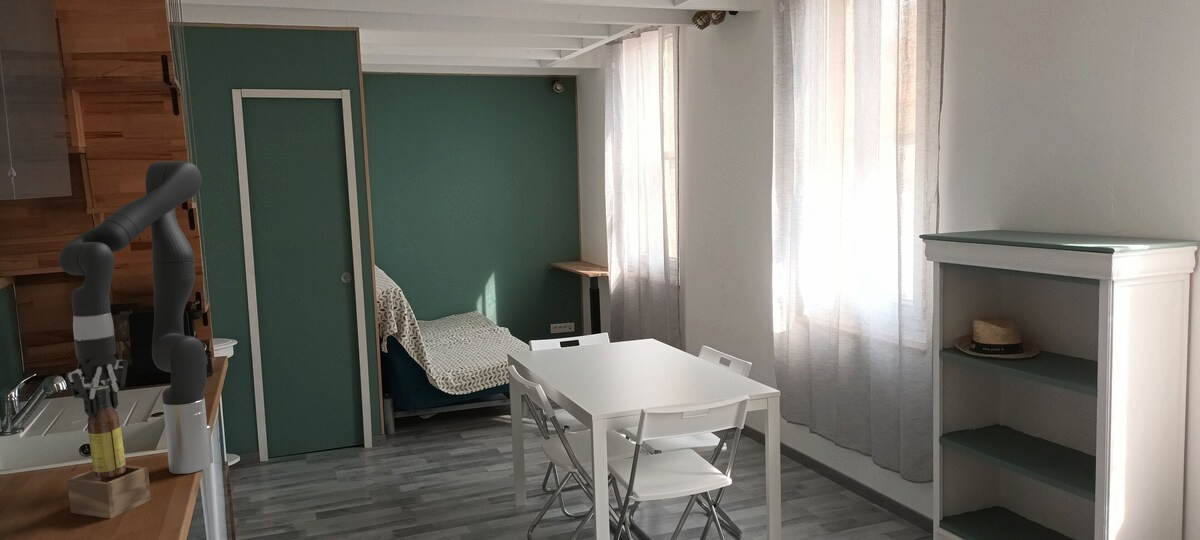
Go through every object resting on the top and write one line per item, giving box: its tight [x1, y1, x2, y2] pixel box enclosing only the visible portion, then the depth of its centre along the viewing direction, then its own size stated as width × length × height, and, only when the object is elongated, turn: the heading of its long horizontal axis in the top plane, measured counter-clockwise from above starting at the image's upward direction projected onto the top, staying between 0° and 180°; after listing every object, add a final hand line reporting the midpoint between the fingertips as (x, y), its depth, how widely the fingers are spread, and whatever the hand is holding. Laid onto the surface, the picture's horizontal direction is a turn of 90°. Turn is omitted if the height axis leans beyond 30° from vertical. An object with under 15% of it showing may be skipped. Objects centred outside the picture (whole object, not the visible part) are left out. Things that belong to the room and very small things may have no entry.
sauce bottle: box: [87, 384, 126, 478], centre depth 190 cm, size 6×6×20 cm
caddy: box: [66, 464, 152, 519], centre depth 191 cm, size 10×12×8 cm
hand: (102, 411), depth 189 cm, fingers closed on sauce bottle, 4 cm apart
